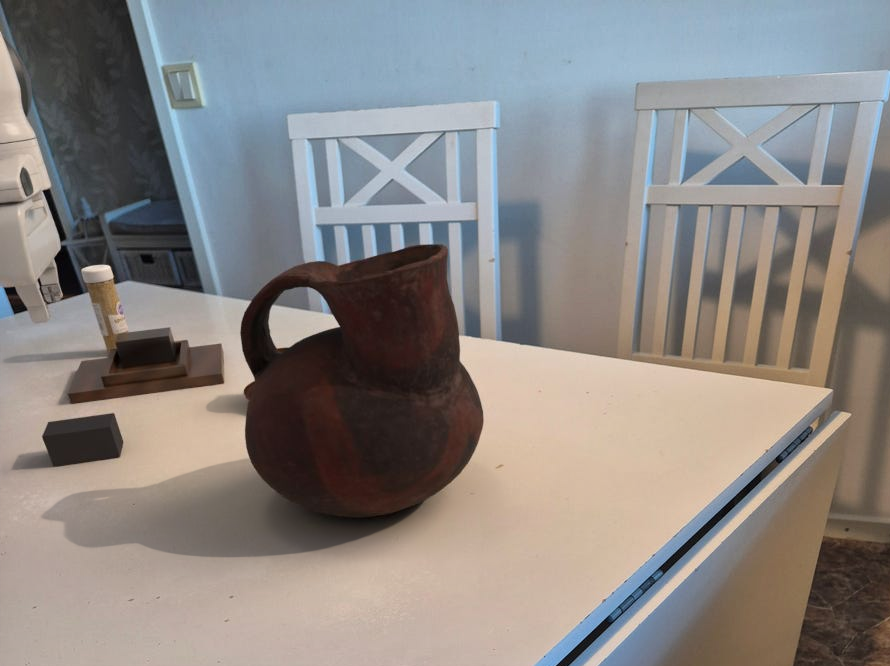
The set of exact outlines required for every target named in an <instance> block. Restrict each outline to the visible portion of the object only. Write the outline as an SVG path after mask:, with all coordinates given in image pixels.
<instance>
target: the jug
mask: <svg viewBox="0 0 890 666" xmlns="http://www.w3.org/2000/svg"><path fill="white" fill-rule="evenodd" d="M448 254H449V249H448V247H447V246H446V245H444V244H440V243H437V244H435V243H433V244H432V243H431V244H429V243H428V244H427V243H426V244H413V245H410V246H407V247H404V248H401V249H398V250H395V251H387V252H384V253H380V254H377V255H373V256H369V257H366V258H363V259H359V260H354V261H350V262H345V263H342V264H339V265H337V264H335V263H332V262H330V261H325V260H315V261H308V262H305V263H301V264H297V265H294V266H292V267H290V268H288V269H287V270H284V271H283V272H281V273H280V274H278V275H277V276H275V277H274V278H272V279H271V280H270V281H269V282H268V283H266V284H265V285H264V286H263V287H262V288H261V289H260V290H259V291H258V292H257V293H256V295H254V296H253V298H252V299H251V301H250V303H249V304H248V306H247V307H246V309H245V311H244V313H243V316H242V319H241V323H240V332H239V333H240V341H241V349H242V353H243V356H244V359H245V362H246V364H247V366H248V368H249V370H250V373H251V374H252V376H253V378H254V381H255V385H254V388H253V391H252V394H251V397H250V400H248V403H247V408H246V414H245V425H244V440H245V449H246V451H247V452H246V453H247V455H248V458H249V460H250V463H251V465H252V466H253V468H254V470H255V472H256V473H257V474H258V475H259V477H260V478H261V479H262V480H263V481H264V483H266V484H267V485H268V486H269V487H270V489H272V490H273V491H275V492H276V493H277V494H278V495H280V496H281V497H283V499H286V500H287V501H289V502H291V503H293V504H295V505H298V506H300V507H302V508H304V509H306V510H309V511H311V512H314V513H318V514H323V515H329V516H337V517H346V518H368V517H376V516H386V515H391V514H393V513H397V512H399V511H402V510H404V509H407V508H410V507H412V506H413V507H414V506H416V505H418V504H420V503H423V502H424V501H426V500H428V499H430V498H431V497H433V496H435V495H436V494H438V493H439V492H440V491H442V490H443V489H445V488H446V487H447V486H449V484H451V483H452V482H453V481H454V480H455V479H456V478H457V477H458V476H459V475H460V474H461V473H462V472H463V470H464V469H465V468H466V467H467V466H468V464H469V462H470V460H471V459H472V457H473V455H474V454H475V451H476V449H477V447H478V444H479V442H480V438H481V436H482V431H483V429H484V421H485V419H484V409H483V405H482V400H481V398H480V395H479V394H480V393H479V391H478V389H477V387H476V385H475V383H474V380H473V379H472V377H471V374H470V372H468V370H467V368H466V367H465V365H464V364H463V362H461V344H460V343H461V342H460V329H459V321H458V317H457V312H456V308H455V304H454V301H453V298H452V296H451V293H450V289H449V288H450V287H449V281H448V256H449V255H448ZM296 288H297V289H298V288H309V289H311V290H312V289H313V290H314V291H316V292H317V293H319V295H321V297H322V298H323V300H325V302H326V304H327V306H328V308H329V310H330V312H331V314H332V316H333V317H334V319H335V321H336V323H337V324H338V326H336V327H333V328H329V329H326V330H322V331H320V332H317V333H315V334H314V333H313V334H311V335H310V336H309V335H308V336H306V337H304V338H302V339H300V340H299V341H297V342H294V343H293V344H292V345H291V346H288V347H289V348H288V349H287V350H286V351H285V352H283V353H281V352H279V351H278V350H277V348H278V347H276V345H275V343H274V340H273V338H272V336H271V329H270V324H269V322H270V315H271V314H270V313H271V309H272V307H273V306H274V304H275V303H276V302H277V300H278V299H279V297H280V296H281V295H282V294H284V292H285V291H290V290H293V289H296Z"/></svg>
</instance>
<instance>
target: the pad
mask: <svg viewBox="0 0 890 666" xmlns="http://www.w3.org/2000/svg"><path fill="white" fill-rule="evenodd" d="M41 437H42V440H43V443H44V446H45V448H46V451H47V453H48V454H47V455H48V456H49V459H50V461H51V464H52V467H55V468H56V467H60V466H69V465H73V464H74V465H75V464H81V463H89V462H94V461H100V460H101V461H103V460H110V459H115V458H120V457H121V455H122V450H123V446H124V439H123V436H122V433H121V430H120V427H119V424H118V419H117V417H116V414H115V413H114V412H111V413H104V414H97V415H90V416H83V417H73V418H67V419H60V420H52V421H48V422H47V424H46V426H45V429H44V431H43V433H42V435H41Z"/></svg>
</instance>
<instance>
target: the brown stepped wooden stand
mask: <svg viewBox="0 0 890 666" xmlns="http://www.w3.org/2000/svg"><path fill="white" fill-rule="evenodd" d="M171 328H172V327H170V326H168V327H161V328H150V329H143V330H135V331H129V332H127V333H118V335H117V338H116V341H115V344H116V348H117V349H110V352H109V354H108V355H107V357H102V358H94V359H86V360H81V361H80V364H79V365H78V368H77V369H76V372H75V375H74V377H73V380H72V381H71V385H70V386H69V388H68V391H67V397H68V400H69V402H70V404H71V405H73V404H80V403H85V402H94V401H101V400H108V399H109V400H110V399H117V398H124V397H131V396H138V395H139V396H140V395H147V394H153V393H154V394H155V393H160V392H169V391H176V390H183V389H191V388H199V387H205V386H212V385H213V386H215V385H220V384H225V365H224V364H225V363H224V361H225V359H224V357H225V356H224V348H223V344H222V343H213V344H205V345H196V346H190V344H189V340H188V339H181V340H174V336H173V332H172V329H171Z"/></svg>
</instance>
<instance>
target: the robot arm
mask: <svg viewBox="0 0 890 666" xmlns="http://www.w3.org/2000/svg"><path fill="white" fill-rule="evenodd" d="M1 31H2V30H0V287H2V288H15V291H16V293H17V295H18V297H19V298H20V300H21V301H22V303H23V305H24V306H25V307H26V309H27V311H28V315H29V318H30V321H31V322H33V323H34V324H42V323H43V324H44V323H48V321H50V318H51V313H50V310H49V307H48V303H54V302H55V303H57V302H60V301H61V300H62V299H63V297H64V296H63V295H64V294H63V292H62V289H61V285H60V281H59V274H58V266H57V263H56V261H55V257H56V256H57V254H58V253H59V252H60V251H61V249H62V244H61V239H60V235H59V232H58V229H57V226H56V222H55V221H54V218H53V214H52V211H51V210H50V207H49V204H48V200H47V199H46V196H45V194H44V192H43V191H47V190H49V189H51V188H52V182H51V179H50V175H49V174H48V171H47V167H46V164H45V161H44V157H43V154H42V151H41V147H40V145H39V142H38V139H37V135H36V132H35V131H34V129H33V127H32V125H31V124H30V122H29V121H28V116H29V113H30V110H31V106H32V99H33V98H32V97H33V90H32V82H31V78H30V74H29V72H28V69H27V68H26V64H25V63H24V61H23V59H22V58H21V56H20V55H19V53H18V51H17V50H16V49H15V47H14V46H13V45H12V44H11V43H10V42H9V40H8V39H7V38H6V37H5V36H4V35H3V33H2V32H1ZM39 281H40V283H39ZM40 284H41V286H40ZM40 288H41V289H40ZM42 294H43V295H42Z"/></svg>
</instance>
